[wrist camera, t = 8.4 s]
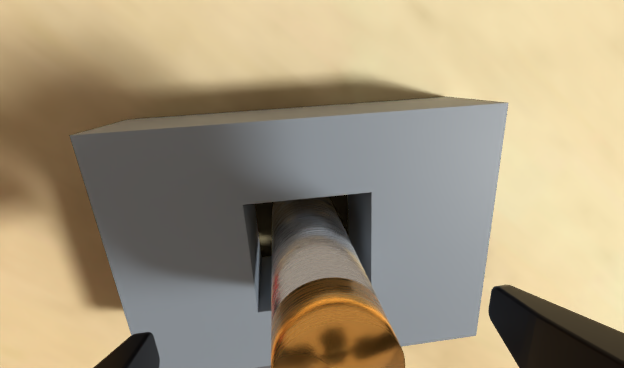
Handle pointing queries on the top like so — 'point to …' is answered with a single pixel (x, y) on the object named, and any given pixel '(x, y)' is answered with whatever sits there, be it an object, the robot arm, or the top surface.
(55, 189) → the top surface
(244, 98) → the top surface
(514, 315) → the robot arm
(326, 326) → the pin
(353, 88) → the top surface
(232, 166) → the hole block
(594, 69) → the top surface
